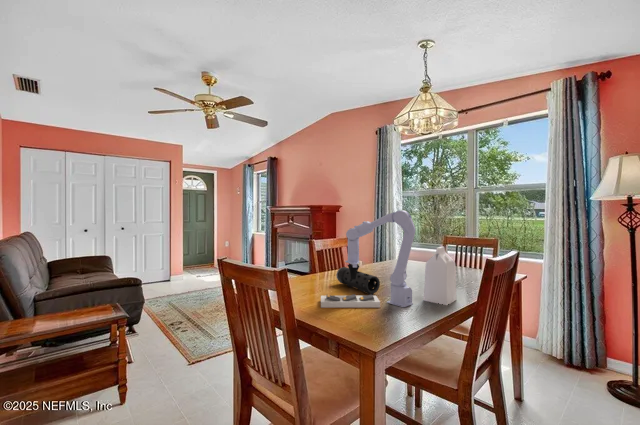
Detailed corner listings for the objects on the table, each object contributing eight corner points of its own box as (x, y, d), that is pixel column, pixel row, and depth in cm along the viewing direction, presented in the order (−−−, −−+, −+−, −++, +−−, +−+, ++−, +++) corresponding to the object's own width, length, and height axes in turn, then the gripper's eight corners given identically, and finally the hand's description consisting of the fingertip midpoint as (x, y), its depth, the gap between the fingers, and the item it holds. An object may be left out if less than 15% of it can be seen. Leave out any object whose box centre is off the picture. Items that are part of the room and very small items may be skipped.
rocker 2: (372, 296, 146) (371, 293, 146) (374, 298, 142) (373, 296, 142) (360, 299, 146) (359, 297, 146) (361, 302, 142) (360, 299, 142)
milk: (433, 295, 160) (434, 245, 159) (456, 299, 152) (457, 247, 151) (423, 300, 151) (423, 247, 150) (446, 305, 143) (447, 249, 142)
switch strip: (376, 300, 150) (376, 295, 150) (380, 307, 140) (380, 301, 140) (320, 300, 150) (320, 295, 150) (320, 307, 140) (320, 301, 140)
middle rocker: (355, 295, 146) (354, 293, 146) (356, 298, 142) (355, 296, 142) (343, 299, 146) (342, 297, 146) (344, 302, 142) (343, 300, 142)
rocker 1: (338, 299, 146) (339, 297, 146) (339, 302, 142) (339, 299, 142) (326, 296, 146) (326, 293, 146) (326, 298, 142) (327, 296, 142)
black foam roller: (366, 297, 157) (366, 276, 156) (335, 284, 180) (335, 267, 180) (380, 294, 162) (380, 274, 161) (348, 282, 185) (348, 265, 185)
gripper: (344, 250, 162) (344, 275, 162) (346, 254, 147) (346, 282, 148) (357, 250, 162) (357, 275, 162) (361, 254, 147) (361, 282, 148)
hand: (353, 279), depth 155 cm, fingers closed
